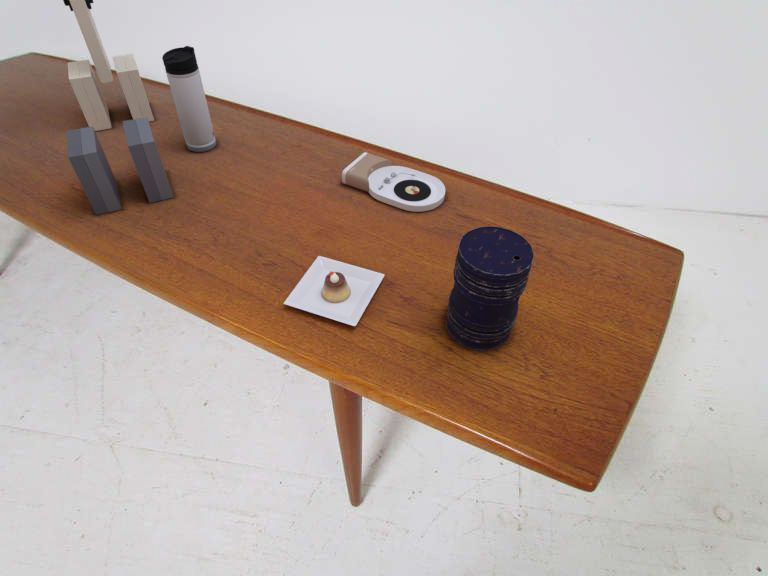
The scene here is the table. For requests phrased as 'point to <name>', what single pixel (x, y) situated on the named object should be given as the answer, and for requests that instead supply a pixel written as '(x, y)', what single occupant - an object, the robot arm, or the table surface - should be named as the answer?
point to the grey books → (98, 173)
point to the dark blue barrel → (488, 286)
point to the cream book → (92, 40)
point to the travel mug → (189, 98)
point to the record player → (394, 183)
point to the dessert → (335, 290)
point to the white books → (92, 95)
